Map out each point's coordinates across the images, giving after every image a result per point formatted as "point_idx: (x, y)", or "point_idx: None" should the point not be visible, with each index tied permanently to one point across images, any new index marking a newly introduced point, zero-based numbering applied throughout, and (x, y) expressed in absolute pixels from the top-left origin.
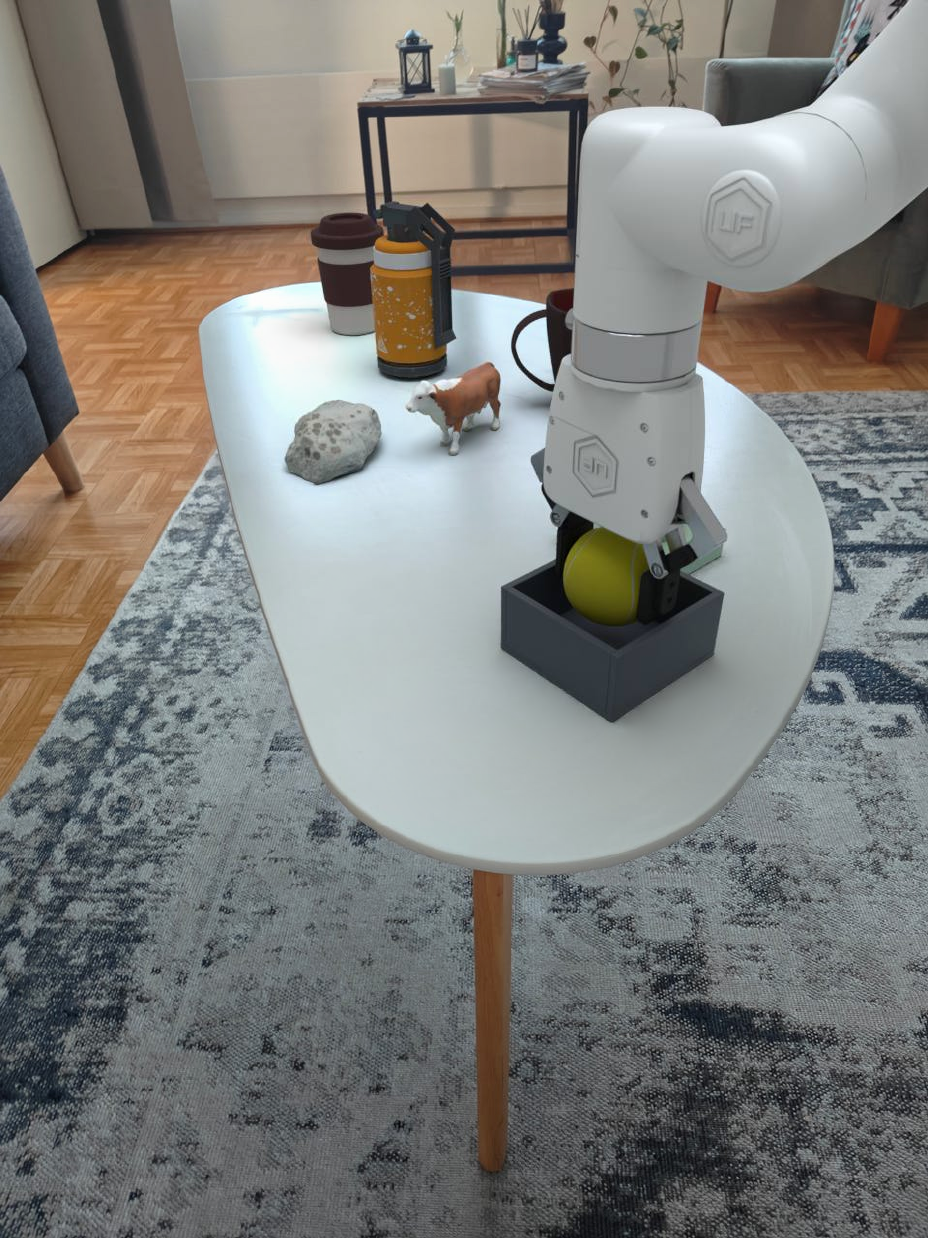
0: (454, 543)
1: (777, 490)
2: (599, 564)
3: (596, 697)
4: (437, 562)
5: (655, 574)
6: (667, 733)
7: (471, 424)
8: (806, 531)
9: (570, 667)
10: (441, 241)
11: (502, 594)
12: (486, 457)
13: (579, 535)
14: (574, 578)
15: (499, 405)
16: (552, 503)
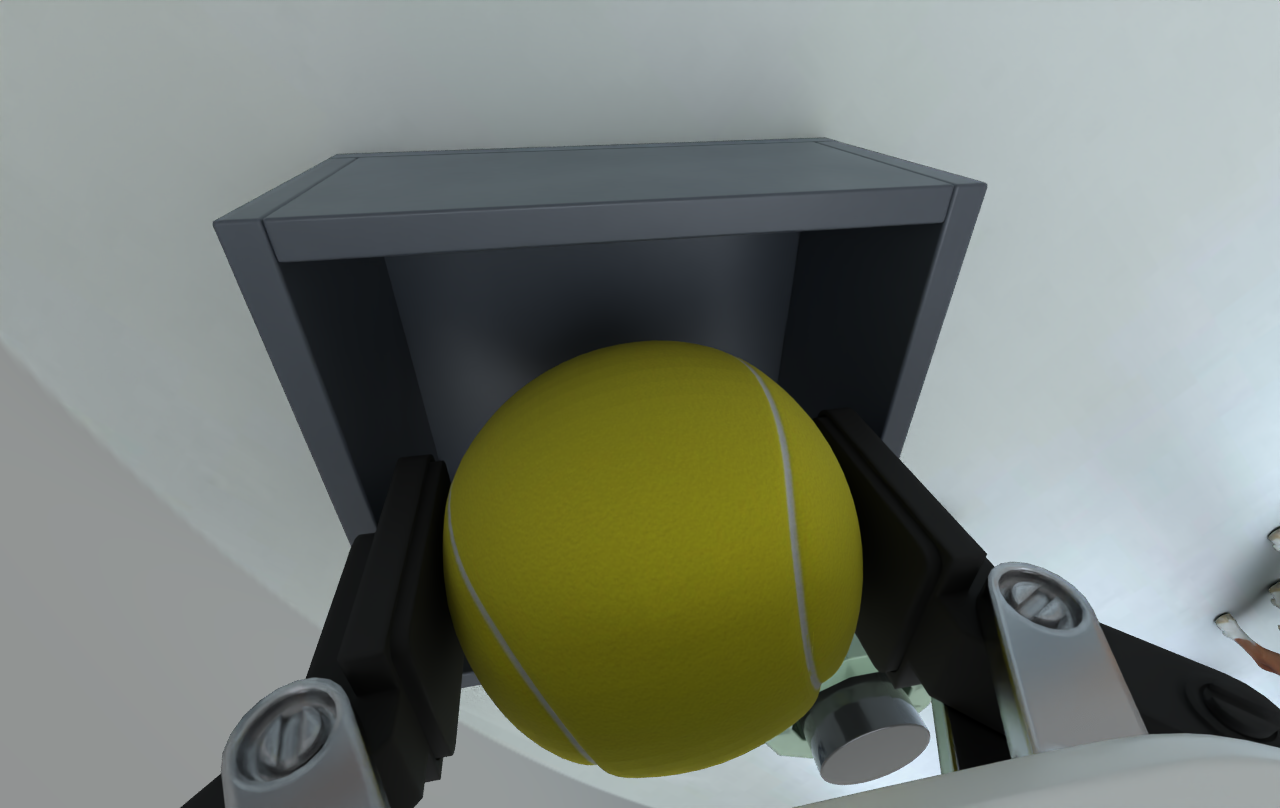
0: (1160, 352)
1: (727, 798)
2: (627, 545)
3: (395, 160)
4: (1173, 269)
5: (323, 694)
6: (217, 257)
7: (1276, 599)
8: (625, 783)
9: (528, 166)
10: None
11: (953, 175)
12: (1205, 566)
13: (879, 590)
14: (712, 407)
15: (1260, 663)
16: (1126, 656)
